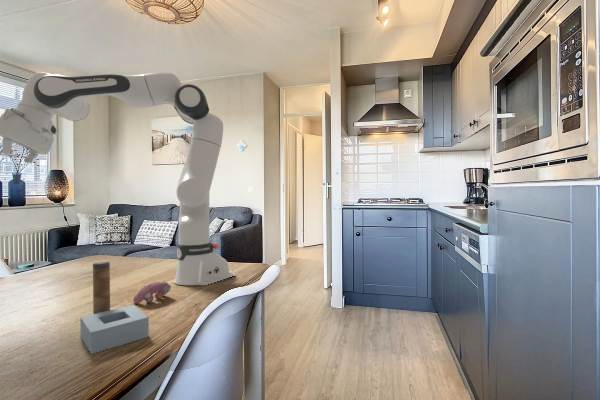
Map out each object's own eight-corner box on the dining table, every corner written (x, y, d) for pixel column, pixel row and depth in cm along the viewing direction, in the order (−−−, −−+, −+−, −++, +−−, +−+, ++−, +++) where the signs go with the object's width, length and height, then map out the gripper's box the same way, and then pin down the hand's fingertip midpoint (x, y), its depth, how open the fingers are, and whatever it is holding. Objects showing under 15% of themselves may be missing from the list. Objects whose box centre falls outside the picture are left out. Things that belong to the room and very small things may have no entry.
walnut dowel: (108, 317, 80) (107, 261, 80) (111, 321, 78) (111, 263, 77) (92, 321, 78) (91, 263, 77) (95, 325, 75) (94, 265, 75)
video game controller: (138, 311, 89) (144, 291, 87) (131, 301, 91) (136, 282, 89) (168, 301, 97) (175, 283, 95) (161, 292, 99) (167, 275, 97)
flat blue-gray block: (133, 322, 77) (133, 304, 77) (148, 336, 69) (148, 317, 69) (80, 336, 69) (80, 317, 69) (91, 354, 61) (90, 332, 61)
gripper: (20, 107, 90) (3, 151, 87) (60, 132, 110) (47, 168, 107) (-4, 102, 89) (-22, 145, 87) (41, 128, 109) (28, 164, 106)
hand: (17, 158), depth 97 cm, fingers open, 8 cm apart
